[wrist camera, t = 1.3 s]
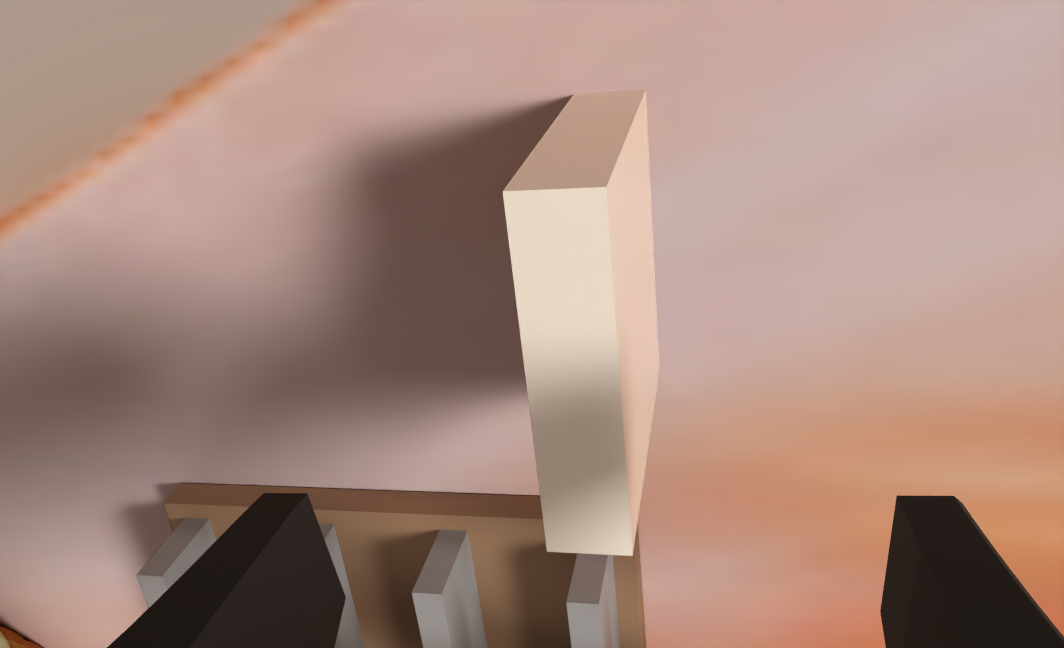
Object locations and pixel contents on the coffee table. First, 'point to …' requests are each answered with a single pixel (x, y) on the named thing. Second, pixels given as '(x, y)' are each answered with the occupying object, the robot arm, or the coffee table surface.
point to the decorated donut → (14, 640)
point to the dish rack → (432, 568)
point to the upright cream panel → (588, 317)
